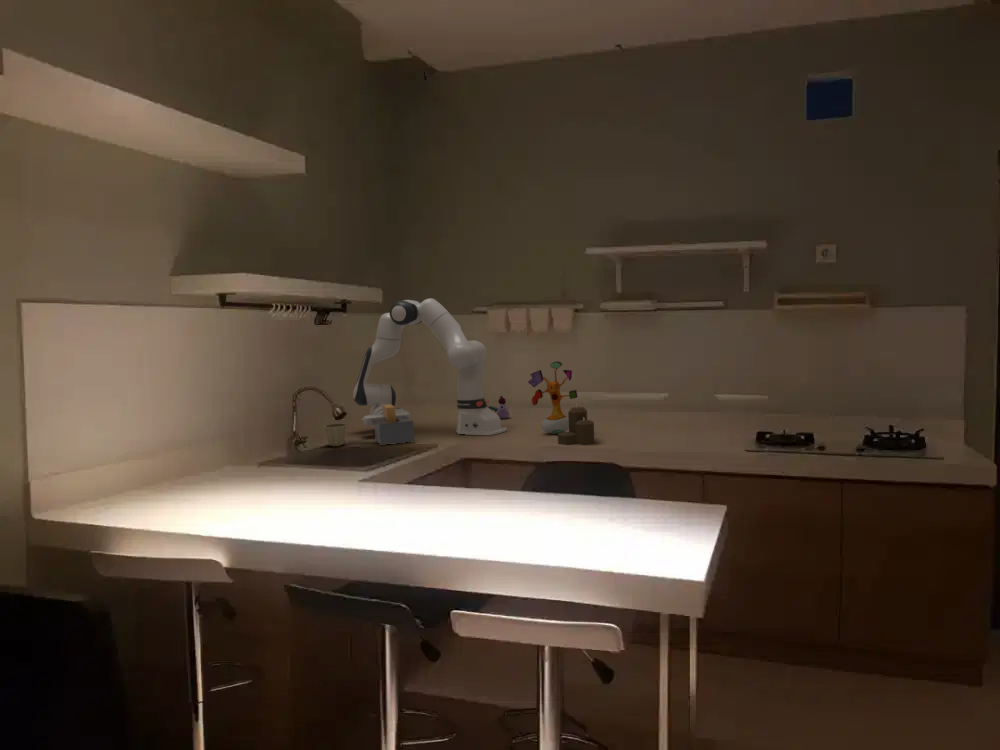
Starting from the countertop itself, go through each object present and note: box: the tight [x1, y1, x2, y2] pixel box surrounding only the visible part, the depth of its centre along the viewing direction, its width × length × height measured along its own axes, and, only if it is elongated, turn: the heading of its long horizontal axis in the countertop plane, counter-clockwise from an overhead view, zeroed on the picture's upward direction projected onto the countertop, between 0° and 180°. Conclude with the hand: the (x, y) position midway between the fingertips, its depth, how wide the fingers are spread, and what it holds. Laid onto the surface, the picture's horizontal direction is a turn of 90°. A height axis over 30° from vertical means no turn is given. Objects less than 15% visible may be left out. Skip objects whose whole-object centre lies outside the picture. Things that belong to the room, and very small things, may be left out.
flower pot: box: [323, 422, 347, 445], centre depth 348 cm, size 9×9×9 cm
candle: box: [557, 402, 595, 446], centre depth 329 cm, size 14×14×15 cm
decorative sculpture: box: [527, 360, 578, 435], centre depth 347 cm, size 20×8×30 cm, turn 76°
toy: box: [487, 395, 510, 420], centre depth 394 cm, size 10×15×15 cm
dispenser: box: [373, 415, 415, 444], centre depth 349 cm, size 12×14×10 cm
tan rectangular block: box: [382, 404, 396, 422], centre depth 357 cm, size 10×4×14 cm, turn 18°
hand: (390, 421), depth 356 cm, fingers closed on tan rectangular block, 3 cm apart
